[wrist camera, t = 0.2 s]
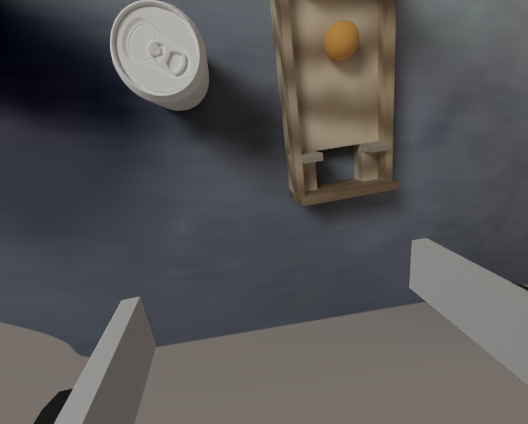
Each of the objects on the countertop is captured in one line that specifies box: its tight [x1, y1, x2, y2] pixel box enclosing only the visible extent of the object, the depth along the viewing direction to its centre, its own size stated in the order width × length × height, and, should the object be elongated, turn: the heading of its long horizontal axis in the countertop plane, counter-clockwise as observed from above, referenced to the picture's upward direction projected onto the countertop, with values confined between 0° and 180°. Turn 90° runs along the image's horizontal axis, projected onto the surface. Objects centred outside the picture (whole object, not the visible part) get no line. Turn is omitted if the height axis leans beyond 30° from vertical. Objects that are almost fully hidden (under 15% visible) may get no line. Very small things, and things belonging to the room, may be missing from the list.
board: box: [270, 0, 399, 207], centre depth 34 cm, size 32×14×6 cm, turn 8°
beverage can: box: [110, 0, 209, 111], centre depth 28 cm, size 8×8×12 cm
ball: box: [324, 20, 359, 60], centre depth 31 cm, size 4×4×4 cm
